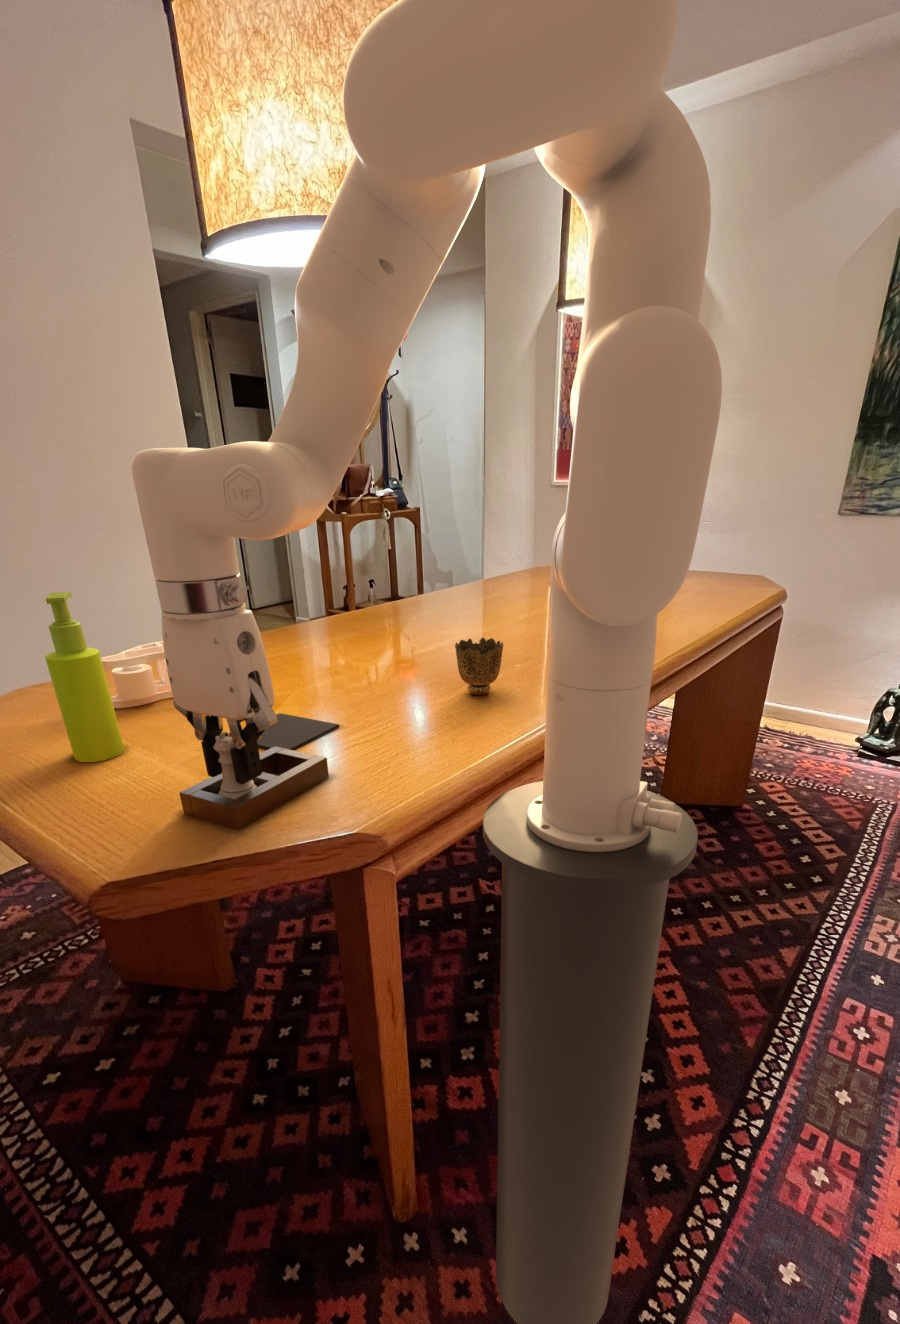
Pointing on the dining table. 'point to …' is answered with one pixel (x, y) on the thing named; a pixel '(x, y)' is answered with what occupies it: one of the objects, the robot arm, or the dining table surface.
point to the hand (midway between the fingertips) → (235, 774)
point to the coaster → (293, 732)
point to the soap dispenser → (81, 688)
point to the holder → (256, 789)
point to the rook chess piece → (229, 770)
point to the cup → (479, 663)
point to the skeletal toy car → (138, 675)
